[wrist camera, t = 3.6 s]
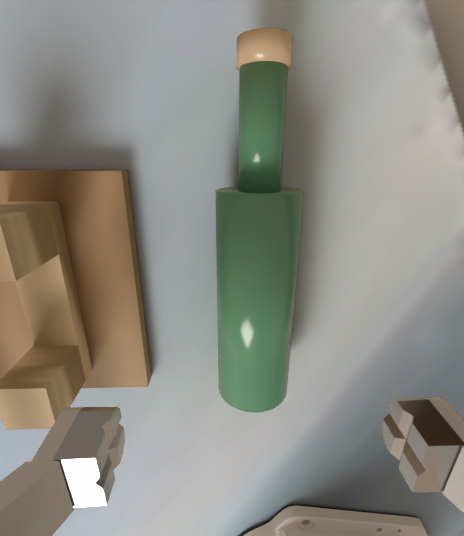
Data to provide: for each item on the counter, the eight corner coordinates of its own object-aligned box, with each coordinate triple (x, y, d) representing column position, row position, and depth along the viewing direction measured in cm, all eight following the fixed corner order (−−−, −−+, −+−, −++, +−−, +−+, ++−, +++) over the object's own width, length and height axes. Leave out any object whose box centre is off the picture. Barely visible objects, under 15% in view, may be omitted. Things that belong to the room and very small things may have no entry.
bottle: (263, 356, 25) (301, 397, 21) (208, 374, 23) (237, 423, 19) (278, 59, 18) (341, 30, 14) (198, 46, 16) (243, 7, 11)
